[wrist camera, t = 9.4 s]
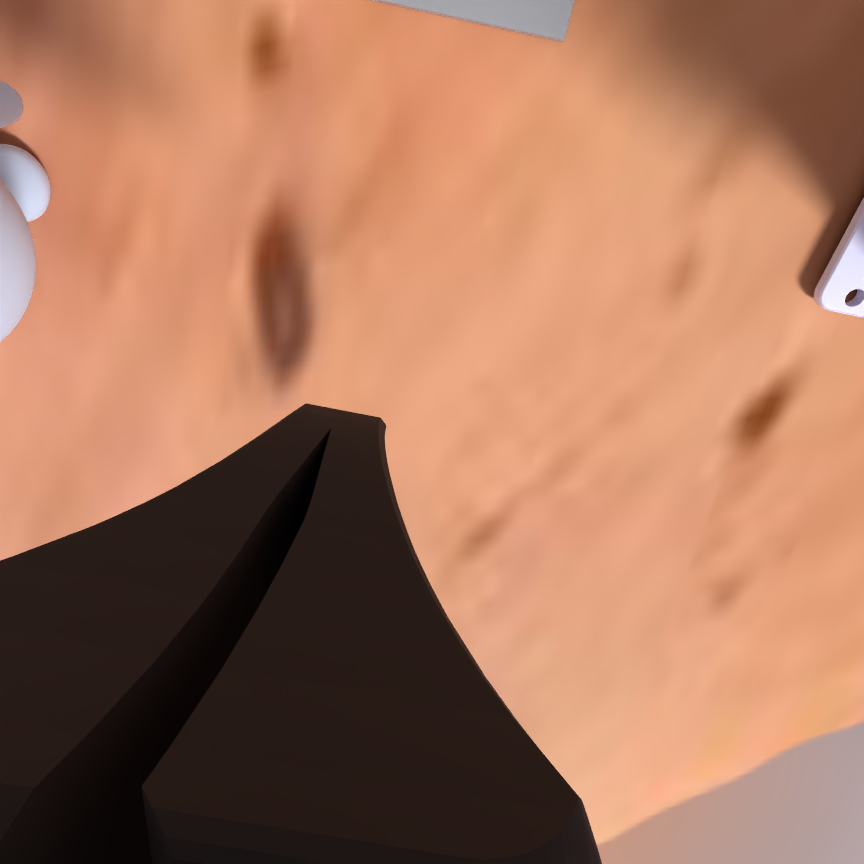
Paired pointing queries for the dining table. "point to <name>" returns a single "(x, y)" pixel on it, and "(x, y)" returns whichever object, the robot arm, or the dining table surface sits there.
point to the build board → (502, 14)
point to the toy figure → (17, 216)
